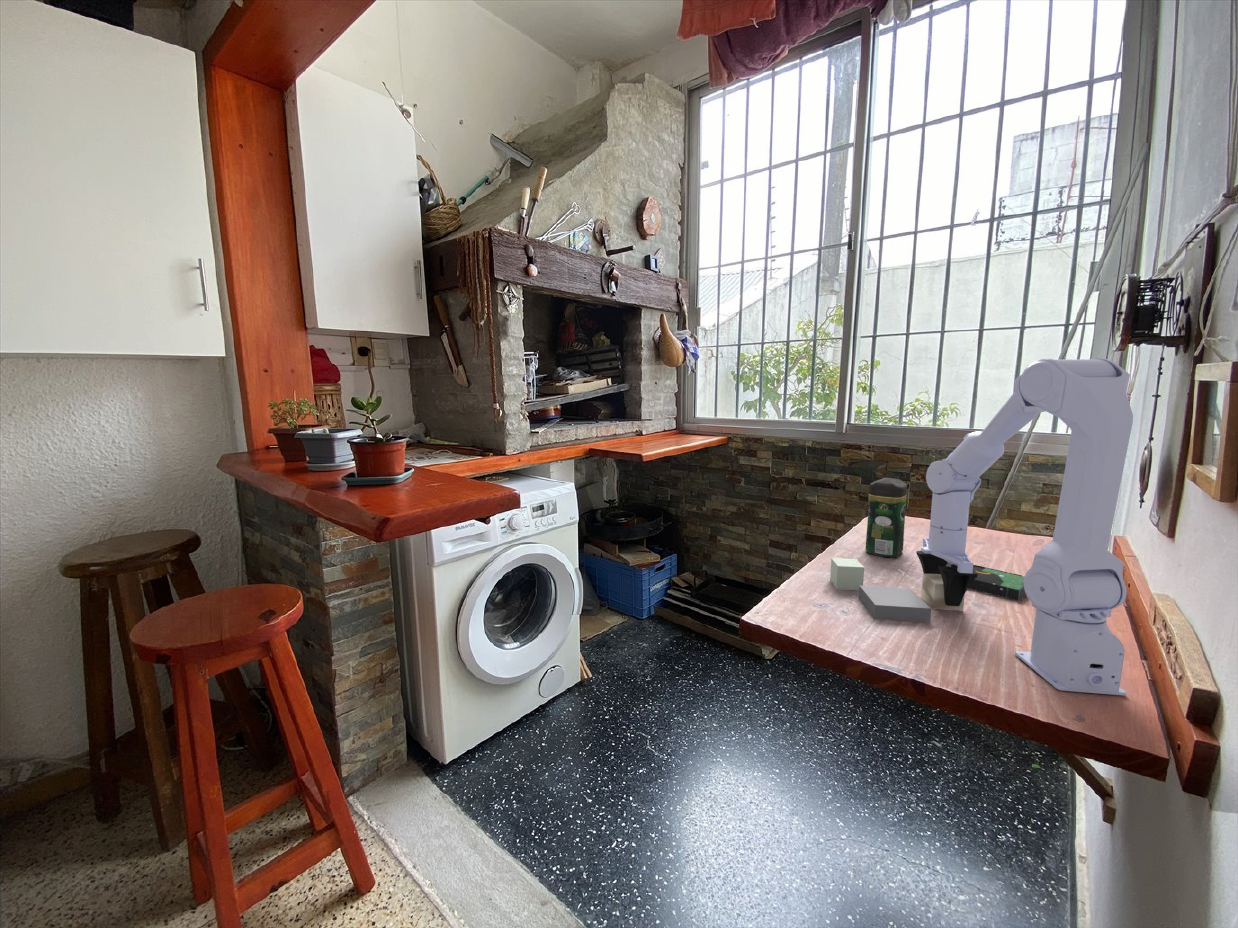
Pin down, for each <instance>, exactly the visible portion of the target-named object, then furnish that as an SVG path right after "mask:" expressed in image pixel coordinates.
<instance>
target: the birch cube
mask: <svg viewBox="0 0 1238 928" xmlns="http://www.w3.org/2000/svg"><path fill="white" fill-rule="evenodd" d="M921 582H922V584H921V595H920V598H921V599H922V600H923V601H924V602H925V603H926V604H927V605H928V606H929V607H930V608H931V609H932V610H946V611H948V610H949V611H964V604H965V594H966V593H965V594H964V597H963V599H962V601H961V604H960V606H947V605H946V604H945V600H944V585H943V580H942V576H941V574H924V573H923V572H922V581H921Z"/></svg>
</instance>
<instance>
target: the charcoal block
mask: <svg viewBox="0 0 1238 928" xmlns="http://www.w3.org/2000/svg"><path fill="white" fill-rule="evenodd" d="M858 600H859V601H860V602H861V604H863V606H864V608H865V609H866V611H868V613H869V614H870V615H871V616H872V618H873V619H874V620H880V621H881V620H882V621H883V620H884V621H899V622H912V623H913V622H914V623H915V622H916V623H928V624H929V623H931V618H932V607H931V606H930V605H928V604H927V603H926V602H925V601H924V600H923V599H922V598H921V596H919V595H918V594H917V593H916V592H914V590H912V588H910V587H909V588H908V587H894V586H893V587H891V586H877V585H863V586H861V585H859V591H858Z"/></svg>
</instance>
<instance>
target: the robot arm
mask: <svg viewBox="0 0 1238 928" xmlns="http://www.w3.org/2000/svg"><path fill="white" fill-rule="evenodd" d="M1130 375H1131V374H1130V373H1129V372H1127V370H1125V369H1124V368H1122V367H1121V365H1119V364H1117V363H1116V362H1115V361H1113V360H1111V359H1108V358H1102V357H1101V358H1092V359H1084V358H1083V359H1053V358H1040V359H1036V360H1034V361H1032V362H1031V363H1030V364H1028V365H1027V366H1026V367H1025V369H1024V370H1023V372H1022V374H1020V375H1019V376H1018V377H1017V378H1015V379H1014V384H1013V389H1014V390H1013V391H1014V392H1013V393H1012V394H1011V396H1009V397H1008V399H1007V400H1006V402H1005V403H1004V404H1003V405H1002V407H1001V408H1000V409H999V410H998V411H997V413H996V414H995V415H994V416H993V417H992V419H991V420H990V421H989V423H987V425H986V426H985V428H984V429H983V430H982V431H973V432H971V433H966V434H965V436H964V437H963V441H961V443H960V444H958V445H957V447H956V448H954V450H953V451H952V452H951V453H949V454H948V456H947V457H946V458H942V460H936V461H932V462H931V463H930V465H929V466H928V468H927V470H926V474H925V481H926V484H927V487H928V488H929V490H931V492H932V497H931V510H930V511H931V512H930V522H929V533H928V534H929V535H928V537H923V538H922V546H921V547H920V550H917V551H915V552H916V555H917V558H918V560H919V562H920V565H921V568H922V574H923V573H924V574H941V576H942V580H943V585H944V600H945V604H946V605H947V606H960V604H961V601H962V599H963V597H964V598H965V596H964V594H966V592H967V590H968V589H969V588H968V587H969V585H970V584H971V583H972V582H973V581H974V580H975V579H976V578H977V577H978V573H977V572H976V571H974V570H973V565H974V562H973V561H971V559H970V557H969V555H968V553H967V551H966V548H967V547H966V544H967V535H968V525H969V524H968V523H969V516H970V515H969V513H970V506H971V505H970V503H972V502H973V501H974V499H975V493H976V491H977V490H978V489H979V488H980V486H981V483H982V479H981V478H980V477H981V476H982V475H983V474H984V473H985V472H986V471H987V470H988V469H989V468H991V466H993V465H994V464H995V463H996V462H997V461H998V460H999V459H1000V458H1001V457H1002V456H1004V453H1005V446H1004V444H1005V443H1006V442H1007V441H1008V440H1010V439H1011V438H1012V437H1013V436H1014V435H1016V434H1017V433H1018V432H1020V430H1022V429H1023V428H1024V427H1025V426H1027V425H1028V424H1029V423H1030V422H1031V421H1033V420H1034V419H1035V418H1036V417H1038V415H1040V414H1041V413H1044V412H1045V413H1048V414H1051V415H1052V416H1055V417H1056V418H1059V419H1060V420H1061V421H1062V423H1064V424H1065V425H1066V426H1067V427H1068V428H1069V429H1070V431H1071V433H1070V438H1069V444H1068V450H1067V454H1066V461H1065V466H1064V473H1063V478H1062V484H1061V490H1060V495H1059V502H1058V506H1057V507H1058V508H1057V512H1056V518H1055V525H1054V530H1053V535H1052V540H1051V541H1050V542H1049V543H1048V544H1047V545H1045V546H1044V547H1042V548H1041V549H1039V550H1038V551H1037V552H1036V553H1035V554H1034V557H1033V561H1032V563H1031V564H1032V565H1031V567H1030V568H1029V569H1028V570H1027V571H1026V573H1025V575H1024V590H1025V593H1026V595H1025V596H1027V598H1028V600H1029V601H1030V602H1031V607H1033V608H1034V609H1035V612H1034V620H1033V621H1034V623H1033V629H1032V637H1031V645H1030V651H1020V650H1016V651H1015V653H1014V655H1016V657H1017V658H1019V659H1020V660H1021V661H1023V663H1025V665H1027V666H1029V667H1030V668H1031V669H1032V670H1034V671H1035V672H1036V673H1037V674H1038V675H1039V676H1041V677H1042V678H1043V679H1044V680H1046V682H1048V683H1049V684H1050V685H1051V686H1053V687H1054V688H1055V689H1056V690H1059V691H1062V692H1063V691H1065V692H1073V693H1074V692H1075V693H1086V694H1087V693H1089V694H1100V695H1101V694H1102V695H1113V696H1127V691H1126V690H1125V689H1123V688H1121V687H1120V686H1121V680H1122V672H1123V665H1124V659H1125V647H1124V645H1123V643H1122V641H1121V639H1120V638H1118V637H1117V636H1116V635H1115V634H1114V633H1113V632H1112V631H1111V630H1110V629H1109V626H1108V622H1107V618H1111V616H1112V615H1111V614H1112V610H1115V609H1117V608H1119V607H1120V606H1122V604H1123V603H1125V601H1126V598H1127V586H1126V582H1125V580H1124V576H1123V571H1124V567H1125V563H1124V562H1123V561H1122V560H1121V559H1120V558H1118V557H1117V556H1116V555H1114V554H1113V553H1112V552H1111V551H1109V550H1108V549H1109V545H1110V540H1111V533H1112V529H1113V526H1114V525H1113V524H1114V519H1115V514H1116V509H1117V504H1118V501H1119V500H1118V498H1119V494H1120V491H1121V490H1120V489H1121V483H1122V479H1123V475H1124V468H1125V463H1126V458H1127V453H1128V449H1129V444H1130V438H1131V434H1132V433H1131V432H1132V428H1133V424H1134V415H1133V410H1132V407H1131V403H1130V401H1129V397H1128V393H1127V392H1128V388H1129V382H1130V377H1131V376H1130ZM948 562H949V563H950V564H951V567H946V565H947V563H948Z"/></svg>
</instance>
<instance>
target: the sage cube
mask: <svg viewBox="0 0 1238 928" xmlns="http://www.w3.org/2000/svg"><path fill="white" fill-rule="evenodd" d="M830 559H831V561H830V575H829V576H830V577H829V580H831V581H830V582H831V584H832V585H833V584H834V585H833V587H834V588H835V590H843V591H857V592H859V585H861V586H864V577H865V566H864V565H863V564H862V563H861V562H860V561H859V560H858V559H857V558H838V557H837V558H836V557H831V558H830Z"/></svg>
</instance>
